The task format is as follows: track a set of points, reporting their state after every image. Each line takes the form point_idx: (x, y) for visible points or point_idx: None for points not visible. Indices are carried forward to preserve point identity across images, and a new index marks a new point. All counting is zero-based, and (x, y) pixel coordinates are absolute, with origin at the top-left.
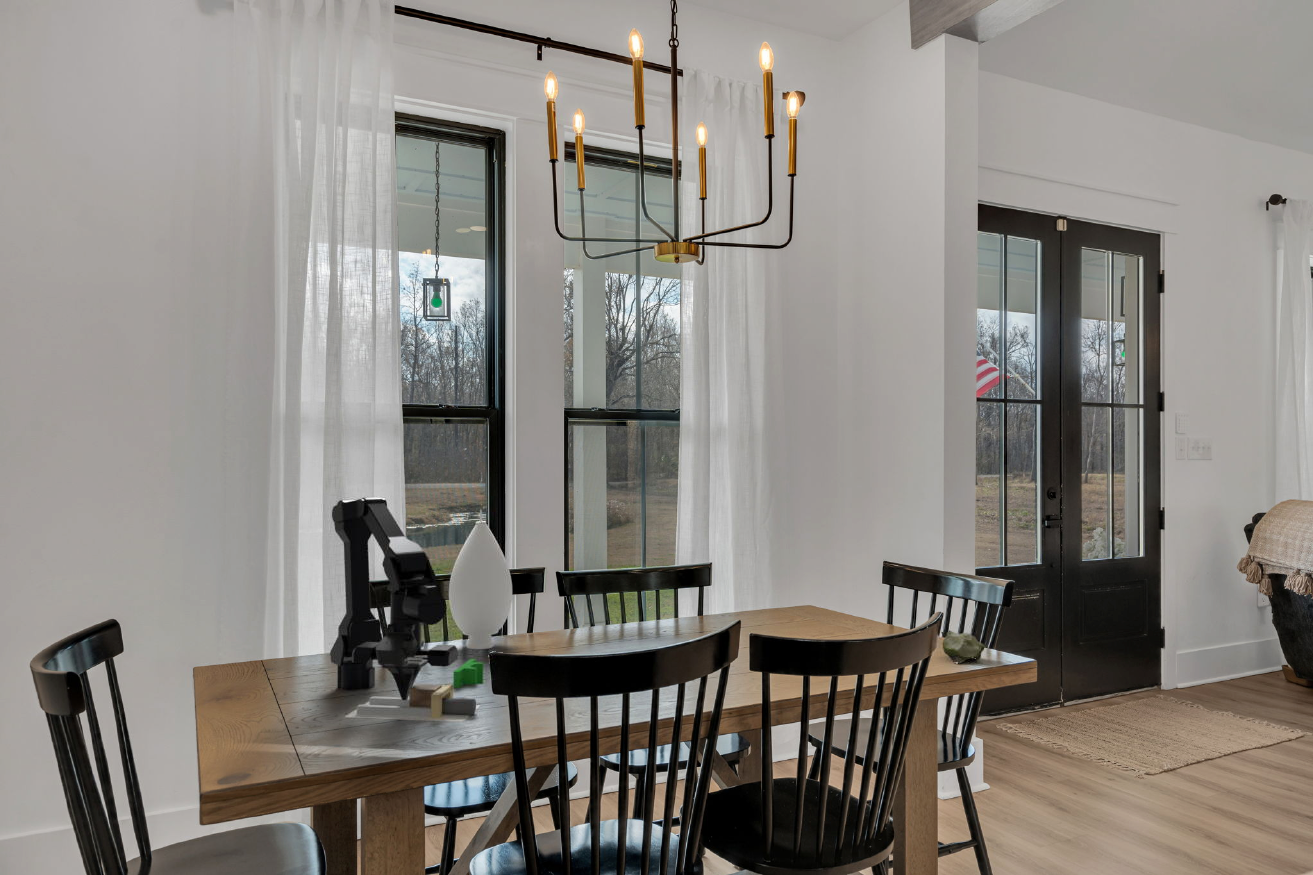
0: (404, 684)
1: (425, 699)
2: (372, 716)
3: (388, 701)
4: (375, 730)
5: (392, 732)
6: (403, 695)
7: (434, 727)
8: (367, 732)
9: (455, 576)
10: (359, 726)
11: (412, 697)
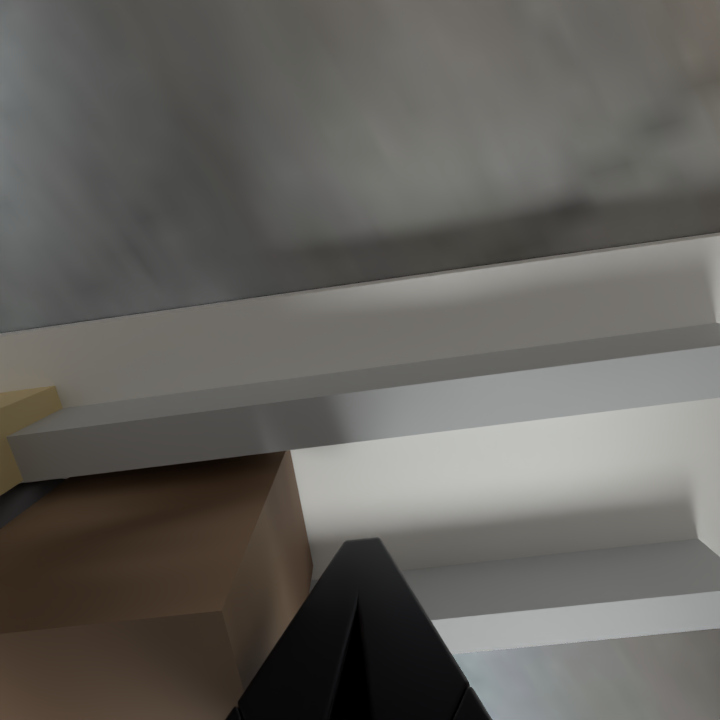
0: (317, 687)
1: (80, 536)
2: (550, 304)
3: (560, 584)
4: (399, 103)
5: (233, 93)
6: (357, 565)
7: (6, 303)
8: (438, 28)
9: None
10: (583, 166)
11: (219, 531)
